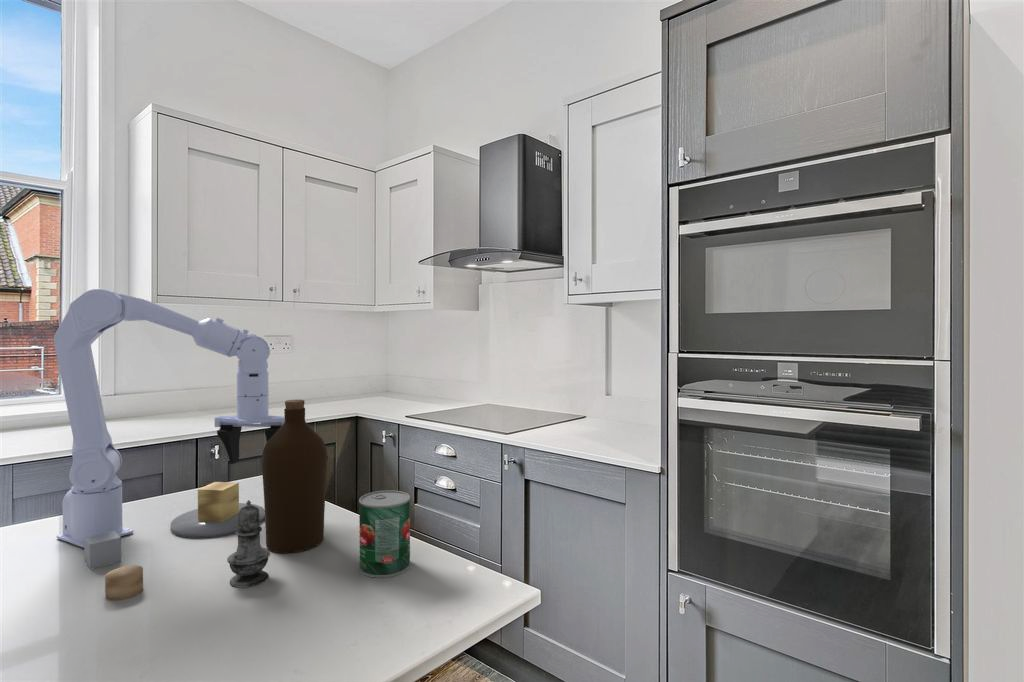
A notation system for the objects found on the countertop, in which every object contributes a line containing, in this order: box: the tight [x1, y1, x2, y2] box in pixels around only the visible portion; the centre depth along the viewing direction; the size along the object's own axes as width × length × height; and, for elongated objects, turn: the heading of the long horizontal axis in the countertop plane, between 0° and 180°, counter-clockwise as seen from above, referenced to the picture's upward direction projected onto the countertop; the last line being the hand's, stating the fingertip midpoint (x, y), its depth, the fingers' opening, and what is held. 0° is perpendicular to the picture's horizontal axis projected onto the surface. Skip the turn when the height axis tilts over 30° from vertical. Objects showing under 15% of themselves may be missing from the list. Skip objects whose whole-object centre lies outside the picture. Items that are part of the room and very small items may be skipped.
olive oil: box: [261, 399, 329, 554], centre depth 95 cm, size 11×11×25 cm
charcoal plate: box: [170, 502, 265, 539], centre depth 105 cm, size 16×16×1 cm
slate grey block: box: [83, 531, 122, 570], centre depth 88 cm, size 4×4×4 cm
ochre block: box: [197, 481, 240, 522], centre depth 105 cm, size 5×5×6 cm
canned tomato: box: [358, 489, 411, 579], centre depth 86 cm, size 8×8×11 cm
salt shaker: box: [226, 499, 271, 589], centre depth 82 cm, size 6×6×12 cm
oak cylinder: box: [104, 564, 144, 601], centre depth 78 cm, size 4×4×3 cm
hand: (253, 462), depth 109 cm, fingers open, 7 cm apart
